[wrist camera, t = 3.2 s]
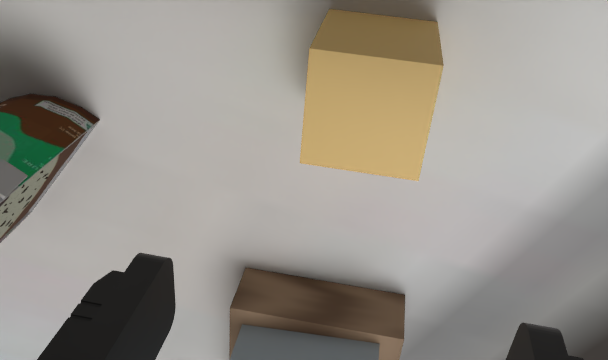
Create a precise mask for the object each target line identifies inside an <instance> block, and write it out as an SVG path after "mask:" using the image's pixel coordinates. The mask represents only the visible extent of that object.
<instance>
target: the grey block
mask: <svg viewBox="0 0 608 360" xmlns="http://www.w3.org/2000/svg"><path fill="white" fill-rule="evenodd" d="M379 346H380V344H378V343H371V342H364V341H357V340H350V339H343V338H336V337H328V336H321V335H314V334H307V333H300V332H293V331H286V330H279V329H272V328H265V327H258V326H251V325H243V324H242V326H241V329H240V332H239V334H238V337H237V340H236V343H235V346H234V348H233V351H232V354H231V357H230V360H379Z"/></svg>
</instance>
